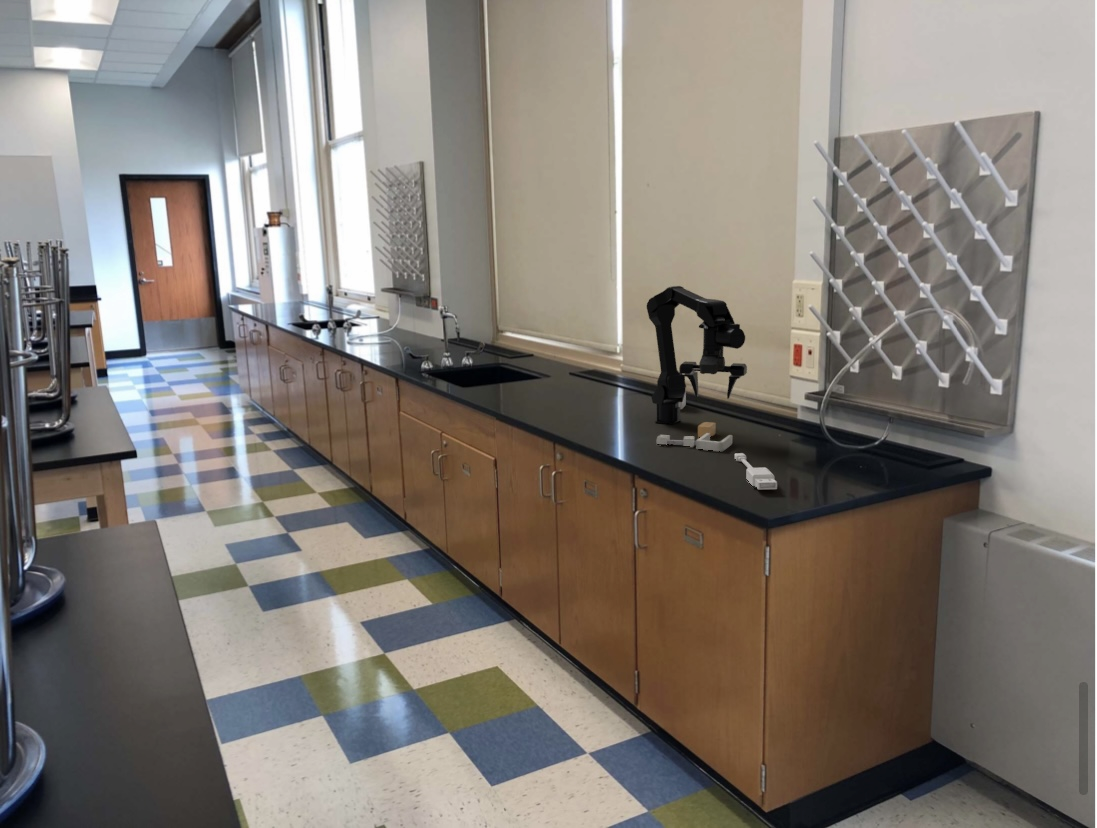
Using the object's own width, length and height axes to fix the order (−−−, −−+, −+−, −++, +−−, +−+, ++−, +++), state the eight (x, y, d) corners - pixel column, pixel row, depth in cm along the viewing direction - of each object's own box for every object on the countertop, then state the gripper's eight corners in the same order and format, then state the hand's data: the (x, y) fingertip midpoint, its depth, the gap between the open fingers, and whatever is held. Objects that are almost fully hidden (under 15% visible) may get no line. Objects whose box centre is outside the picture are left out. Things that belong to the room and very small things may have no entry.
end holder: (695, 449, 237) (695, 440, 237) (706, 441, 246) (706, 433, 245) (722, 451, 234) (722, 442, 233) (732, 443, 242) (732, 435, 242)
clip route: (654, 444, 243) (654, 436, 243) (660, 441, 247) (660, 433, 247) (695, 448, 238) (695, 440, 237) (701, 445, 242) (701, 436, 241)
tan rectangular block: (697, 437, 251) (697, 426, 250) (703, 433, 256) (704, 421, 255) (709, 438, 249) (709, 427, 249) (715, 434, 254) (715, 422, 254)
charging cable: (747, 460, 228) (747, 448, 228) (778, 492, 197) (778, 478, 196) (728, 461, 229) (728, 449, 228) (756, 493, 197) (756, 479, 196)
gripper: (675, 347, 244) (674, 401, 247) (741, 349, 237) (740, 405, 240) (683, 342, 254) (683, 394, 257) (747, 344, 247) (746, 397, 250)
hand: (712, 397), depth 251 cm, fingers open, 9 cm apart
